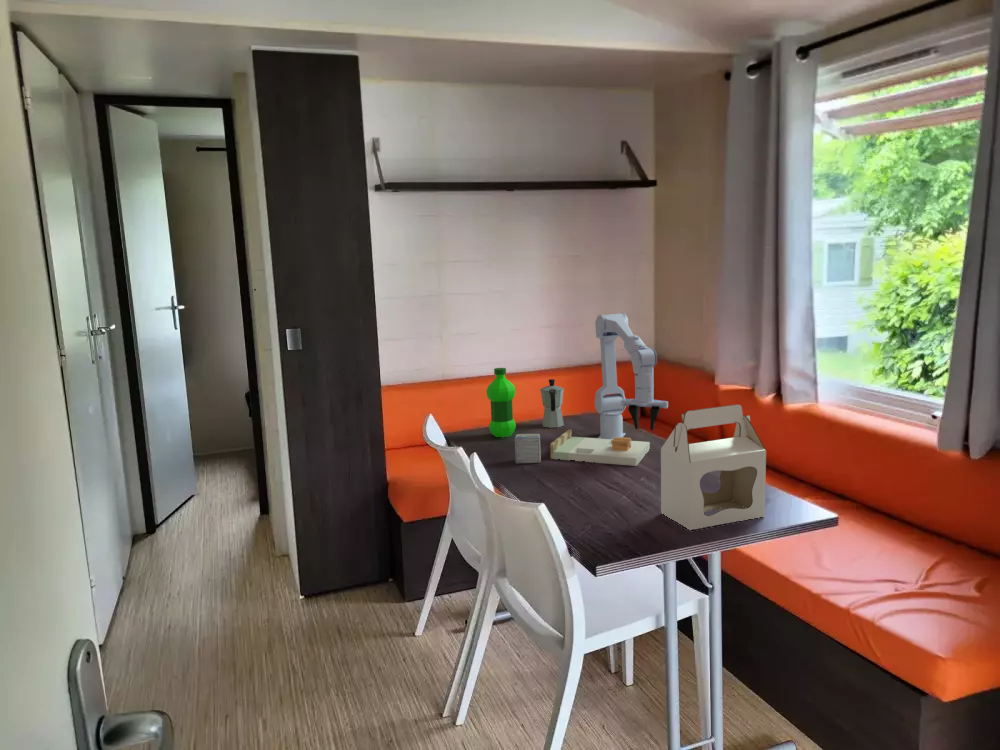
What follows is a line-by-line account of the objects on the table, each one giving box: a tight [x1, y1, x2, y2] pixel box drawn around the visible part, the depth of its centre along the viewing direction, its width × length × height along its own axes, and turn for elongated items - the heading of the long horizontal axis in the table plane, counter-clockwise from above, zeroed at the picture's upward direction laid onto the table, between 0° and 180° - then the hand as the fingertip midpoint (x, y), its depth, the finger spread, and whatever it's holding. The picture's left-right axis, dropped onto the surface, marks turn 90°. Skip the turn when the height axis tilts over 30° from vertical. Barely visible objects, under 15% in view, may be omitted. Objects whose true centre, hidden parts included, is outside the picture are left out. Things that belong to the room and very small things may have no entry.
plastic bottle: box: [486, 367, 517, 438], centre depth 271 cm, size 10×10×25 cm
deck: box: [549, 429, 651, 467], centre depth 246 cm, size 19×28×5 cm
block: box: [612, 436, 632, 451], centre depth 243 cm, size 5×5×3 cm
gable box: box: [660, 403, 767, 530], centre depth 188 cm, size 22×13×28 cm, turn 109°
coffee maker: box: [540, 378, 565, 428], centre depth 283 cm, size 15×9×18 cm, turn 178°
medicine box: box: [514, 433, 542, 464], centre depth 241 cm, size 8×4×9 cm, turn 84°
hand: (644, 429), depth 239 cm, fingers open, 4 cm apart
